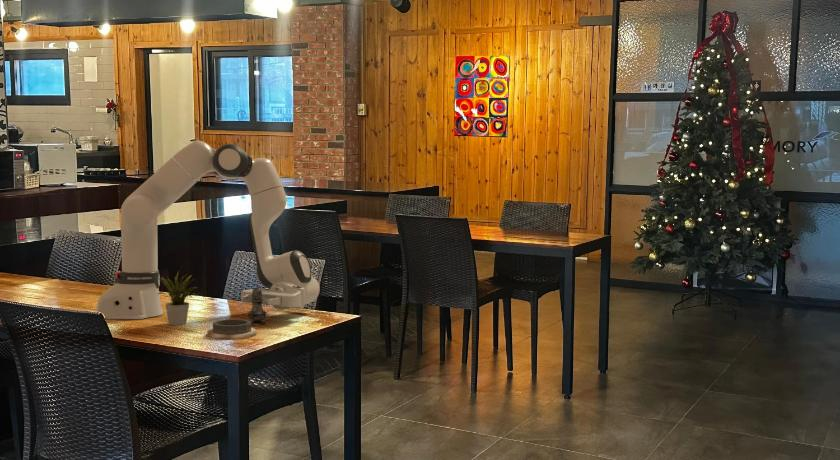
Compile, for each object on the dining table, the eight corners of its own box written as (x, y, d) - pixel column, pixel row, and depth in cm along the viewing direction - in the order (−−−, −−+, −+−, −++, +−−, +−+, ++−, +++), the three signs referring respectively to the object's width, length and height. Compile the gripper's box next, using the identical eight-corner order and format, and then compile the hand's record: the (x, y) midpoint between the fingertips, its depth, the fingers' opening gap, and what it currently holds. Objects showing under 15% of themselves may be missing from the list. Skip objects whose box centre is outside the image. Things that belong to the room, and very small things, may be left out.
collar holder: (207, 339, 262) (207, 327, 261) (207, 330, 275) (207, 318, 275) (257, 338, 265) (257, 326, 264) (255, 329, 278) (255, 317, 278)
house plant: (152, 329, 275) (152, 274, 274) (146, 321, 288) (145, 269, 287) (201, 326, 281) (201, 273, 280) (193, 319, 294) (192, 267, 292)
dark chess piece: (262, 326, 284) (262, 286, 283) (244, 325, 285) (244, 286, 284) (269, 322, 290) (269, 284, 289) (251, 321, 291) (251, 283, 290)
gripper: (257, 283, 303) (229, 288, 291) (308, 288, 293) (281, 293, 281) (257, 302, 303) (229, 308, 291) (308, 308, 293) (281, 314, 281)
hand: (255, 301), depth 286 cm, fingers open, 8 cm apart
